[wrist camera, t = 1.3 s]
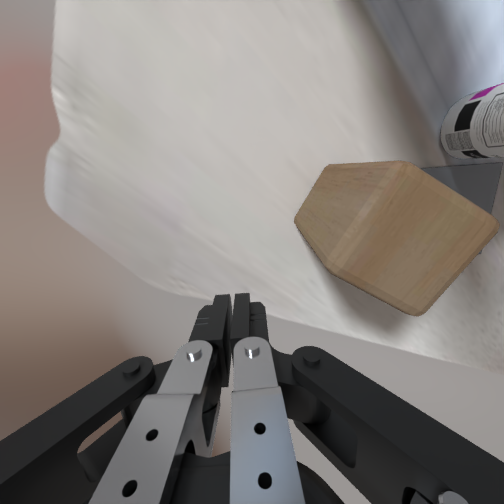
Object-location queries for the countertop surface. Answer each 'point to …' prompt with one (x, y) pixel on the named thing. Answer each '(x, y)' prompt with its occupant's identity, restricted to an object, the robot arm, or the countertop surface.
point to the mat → (471, 182)
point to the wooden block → (393, 231)
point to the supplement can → (476, 125)
